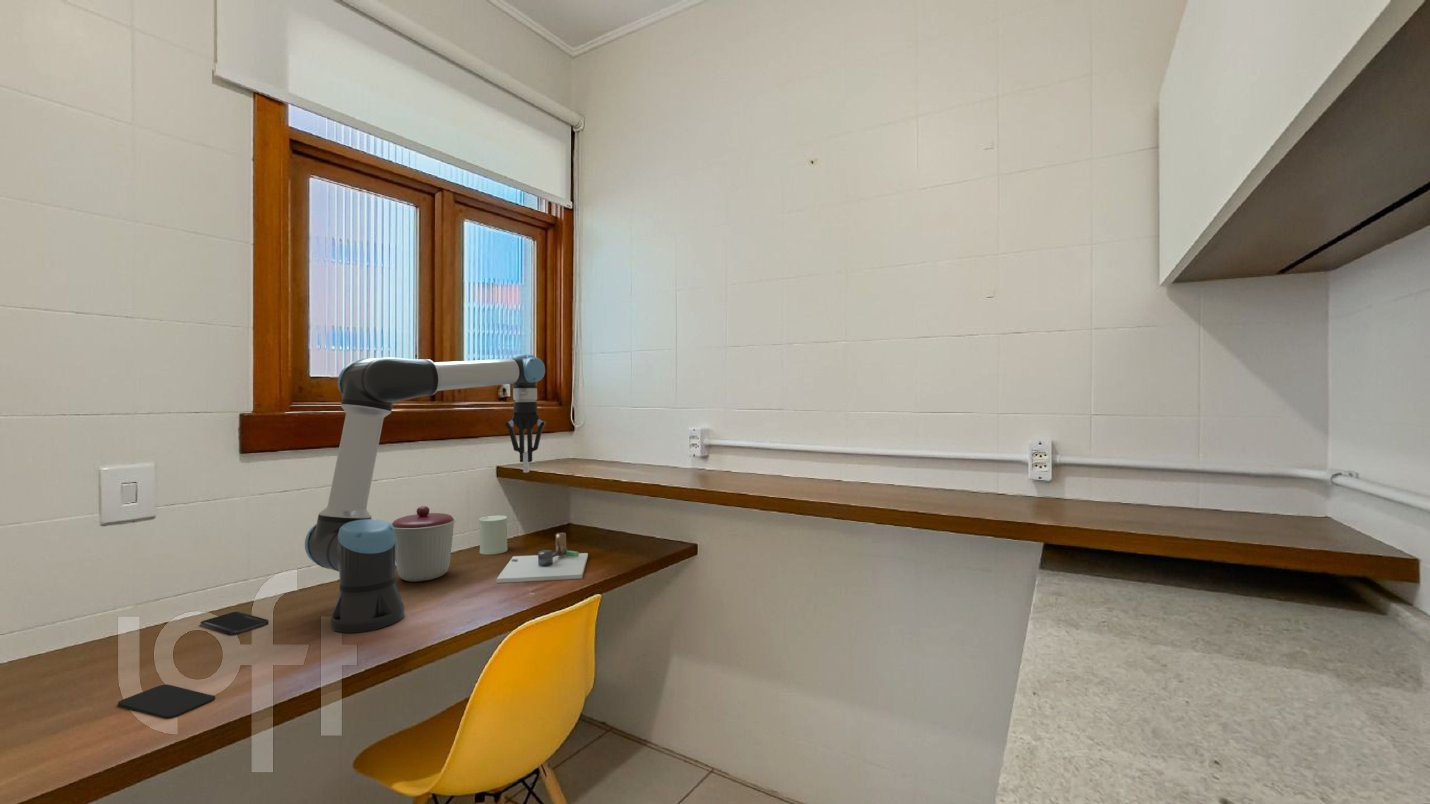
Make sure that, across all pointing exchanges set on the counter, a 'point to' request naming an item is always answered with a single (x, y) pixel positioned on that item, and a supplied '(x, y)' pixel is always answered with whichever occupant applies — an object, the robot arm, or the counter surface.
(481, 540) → the can
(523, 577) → the dial plate
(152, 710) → the phone
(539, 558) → the lever
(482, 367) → the robot arm
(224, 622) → the phone
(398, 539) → the canister
